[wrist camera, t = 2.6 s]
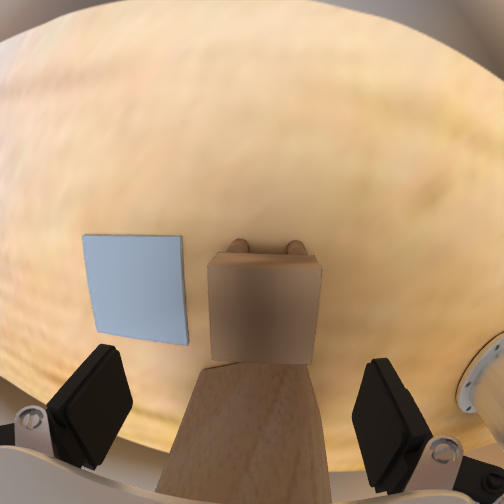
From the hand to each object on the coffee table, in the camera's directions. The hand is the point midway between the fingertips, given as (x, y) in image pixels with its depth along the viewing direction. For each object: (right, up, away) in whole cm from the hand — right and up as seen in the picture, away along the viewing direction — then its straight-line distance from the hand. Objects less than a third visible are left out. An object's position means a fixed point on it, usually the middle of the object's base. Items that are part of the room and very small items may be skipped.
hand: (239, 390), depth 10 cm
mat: (-10, +2, +15) cm, 18 cm away
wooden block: (+2, -10, +17) cm, 20 cm away
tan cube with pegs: (+2, +3, +14) cm, 14 cm away
